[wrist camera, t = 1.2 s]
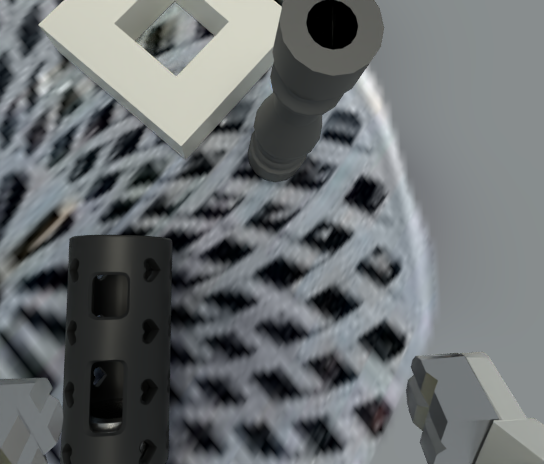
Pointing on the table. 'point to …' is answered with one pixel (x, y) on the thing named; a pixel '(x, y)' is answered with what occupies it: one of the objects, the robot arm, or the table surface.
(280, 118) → the candle holder
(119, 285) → the muzzle brake
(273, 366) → the table surface
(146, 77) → the socket block
